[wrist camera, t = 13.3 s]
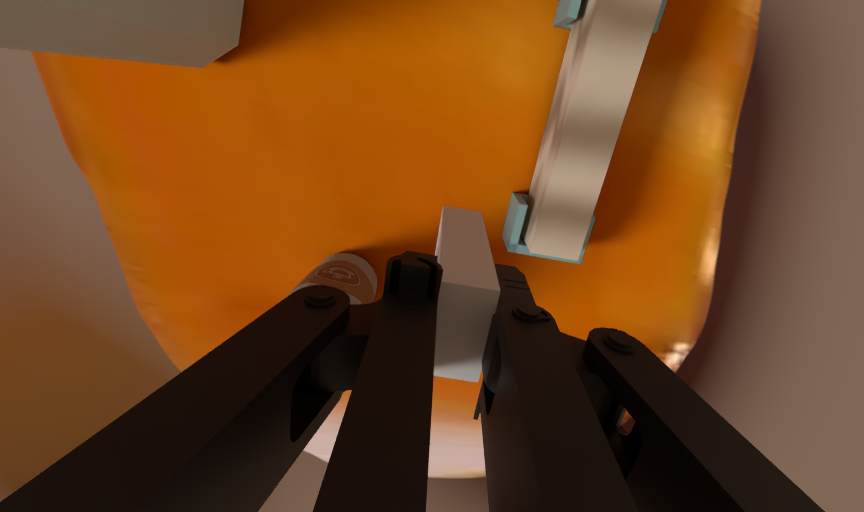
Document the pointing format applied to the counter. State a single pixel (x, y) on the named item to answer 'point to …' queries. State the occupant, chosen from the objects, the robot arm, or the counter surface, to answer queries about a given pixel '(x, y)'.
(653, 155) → the counter surface
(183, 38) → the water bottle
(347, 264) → the coffee cup
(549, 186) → the slat
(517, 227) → the end caps
